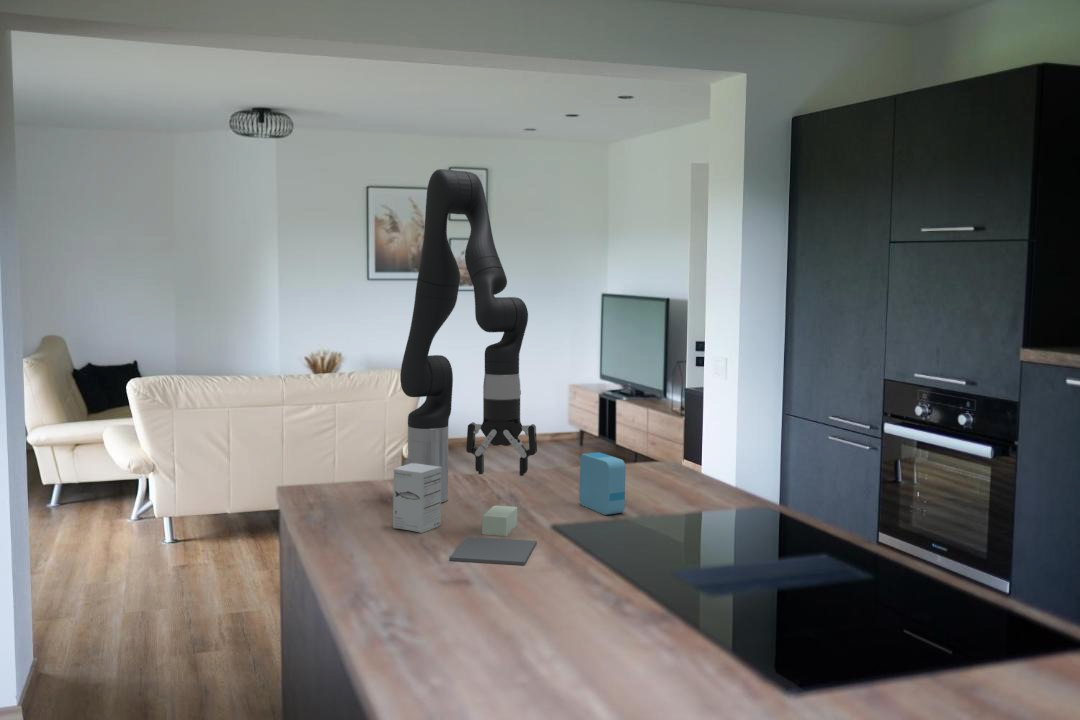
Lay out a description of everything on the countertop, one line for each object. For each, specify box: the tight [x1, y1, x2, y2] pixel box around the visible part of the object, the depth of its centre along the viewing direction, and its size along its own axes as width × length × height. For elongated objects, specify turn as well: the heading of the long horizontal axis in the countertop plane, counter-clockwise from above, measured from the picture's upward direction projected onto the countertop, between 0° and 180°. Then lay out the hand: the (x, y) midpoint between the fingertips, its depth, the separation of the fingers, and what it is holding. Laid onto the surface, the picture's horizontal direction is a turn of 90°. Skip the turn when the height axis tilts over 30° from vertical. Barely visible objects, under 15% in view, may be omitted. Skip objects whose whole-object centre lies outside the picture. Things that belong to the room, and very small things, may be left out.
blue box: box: [578, 452, 627, 516], centre depth 220 cm, size 12×4×12 cm, turn 30°
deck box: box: [481, 505, 518, 537], centre depth 203 cm, size 5×9×4 cm, turn 167°
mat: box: [448, 536, 537, 566], centre depth 187 cm, size 14×14×1 cm
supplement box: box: [392, 463, 442, 534], centre depth 203 cm, size 7×7×13 cm
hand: (501, 474), depth 202 cm, fingers open, 8 cm apart
